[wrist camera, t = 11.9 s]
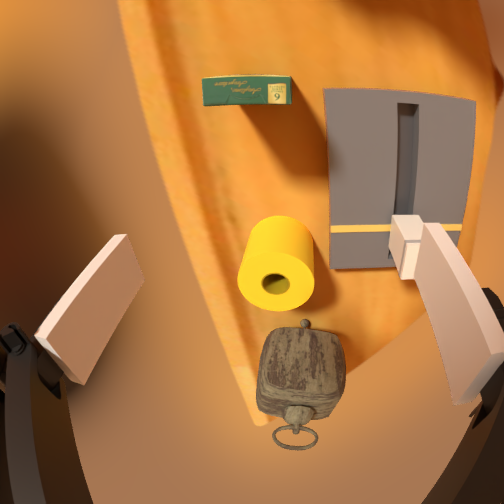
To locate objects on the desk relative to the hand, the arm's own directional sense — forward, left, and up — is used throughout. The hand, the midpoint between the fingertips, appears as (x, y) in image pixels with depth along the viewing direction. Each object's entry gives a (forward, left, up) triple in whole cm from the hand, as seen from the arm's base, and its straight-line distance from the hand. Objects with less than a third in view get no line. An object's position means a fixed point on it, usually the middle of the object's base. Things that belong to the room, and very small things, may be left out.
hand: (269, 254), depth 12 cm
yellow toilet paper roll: (+18, -3, -29) cm, 34 cm away
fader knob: (+14, +15, -29) cm, 35 cm away
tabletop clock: (+37, 0, -29) cm, 47 cm away
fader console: (+8, +15, -29) cm, 33 cm away
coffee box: (-6, -3, -29) cm, 30 cm away
